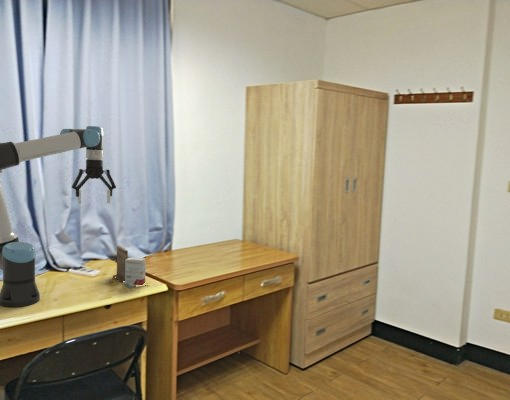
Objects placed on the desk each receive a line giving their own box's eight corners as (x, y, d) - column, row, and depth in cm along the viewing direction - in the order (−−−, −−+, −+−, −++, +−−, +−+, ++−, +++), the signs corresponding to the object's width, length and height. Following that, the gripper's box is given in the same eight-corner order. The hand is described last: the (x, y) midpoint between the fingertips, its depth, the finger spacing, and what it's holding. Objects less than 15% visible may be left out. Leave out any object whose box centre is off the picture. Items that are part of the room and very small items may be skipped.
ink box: (145, 282, 222) (146, 258, 221) (142, 285, 217) (142, 260, 216) (128, 281, 223) (128, 257, 222) (124, 283, 218) (124, 259, 217)
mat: (128, 288, 213) (128, 287, 213) (122, 282, 222) (122, 281, 222) (149, 285, 219) (149, 284, 219) (142, 280, 227) (142, 279, 227)
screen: (120, 282, 222) (121, 251, 221) (113, 276, 232) (113, 246, 231) (127, 281, 224) (127, 250, 222) (119, 275, 234) (120, 246, 232)
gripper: (68, 158, 211) (68, 205, 213) (123, 160, 225) (122, 203, 227) (65, 158, 217) (65, 203, 220) (118, 159, 231) (117, 201, 233)
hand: (94, 203), depth 223 cm, fingers open, 13 cm apart
